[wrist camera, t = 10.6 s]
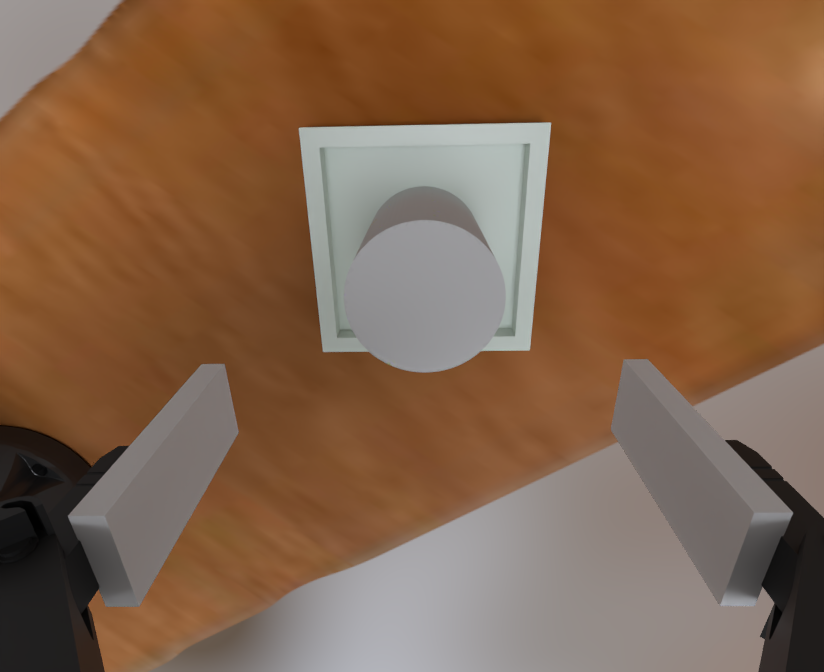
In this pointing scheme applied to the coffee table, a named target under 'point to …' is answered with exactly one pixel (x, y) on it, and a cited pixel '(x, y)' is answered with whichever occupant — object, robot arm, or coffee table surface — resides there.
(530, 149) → the tray
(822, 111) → the coffee table surface
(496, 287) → the cup
